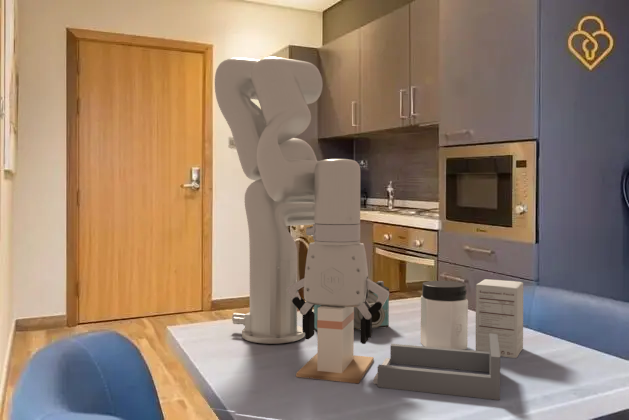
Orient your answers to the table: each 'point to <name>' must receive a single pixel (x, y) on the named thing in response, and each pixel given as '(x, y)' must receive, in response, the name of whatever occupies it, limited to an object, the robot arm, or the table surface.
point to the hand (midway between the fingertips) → (336, 339)
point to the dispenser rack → (443, 379)
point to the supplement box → (500, 315)
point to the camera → (377, 319)
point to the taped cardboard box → (335, 338)
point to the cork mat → (350, 374)
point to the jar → (444, 315)
